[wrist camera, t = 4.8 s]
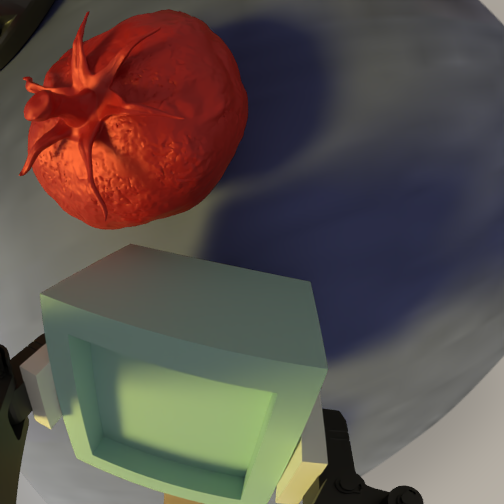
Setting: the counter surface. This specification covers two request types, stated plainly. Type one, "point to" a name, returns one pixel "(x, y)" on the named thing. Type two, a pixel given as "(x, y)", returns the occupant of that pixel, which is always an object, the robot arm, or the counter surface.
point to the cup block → (184, 371)
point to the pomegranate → (136, 120)
